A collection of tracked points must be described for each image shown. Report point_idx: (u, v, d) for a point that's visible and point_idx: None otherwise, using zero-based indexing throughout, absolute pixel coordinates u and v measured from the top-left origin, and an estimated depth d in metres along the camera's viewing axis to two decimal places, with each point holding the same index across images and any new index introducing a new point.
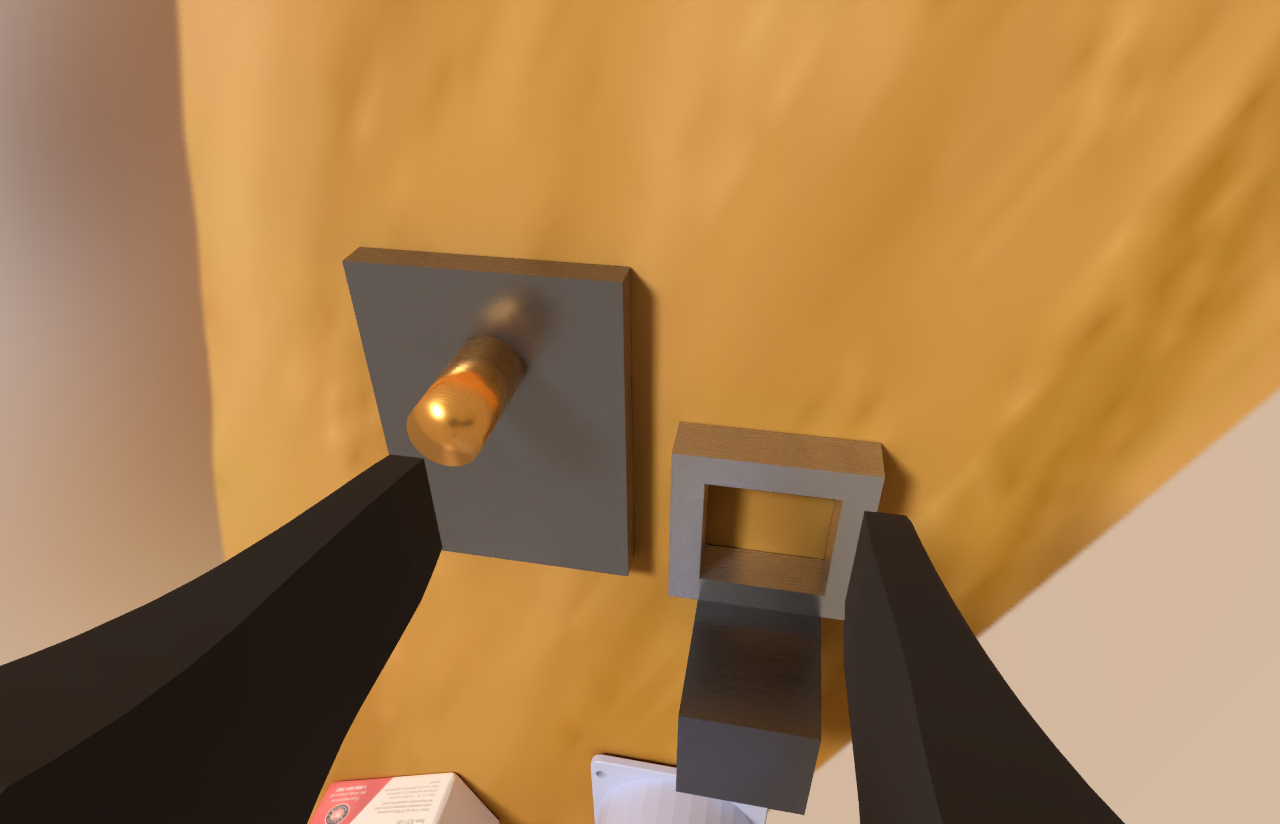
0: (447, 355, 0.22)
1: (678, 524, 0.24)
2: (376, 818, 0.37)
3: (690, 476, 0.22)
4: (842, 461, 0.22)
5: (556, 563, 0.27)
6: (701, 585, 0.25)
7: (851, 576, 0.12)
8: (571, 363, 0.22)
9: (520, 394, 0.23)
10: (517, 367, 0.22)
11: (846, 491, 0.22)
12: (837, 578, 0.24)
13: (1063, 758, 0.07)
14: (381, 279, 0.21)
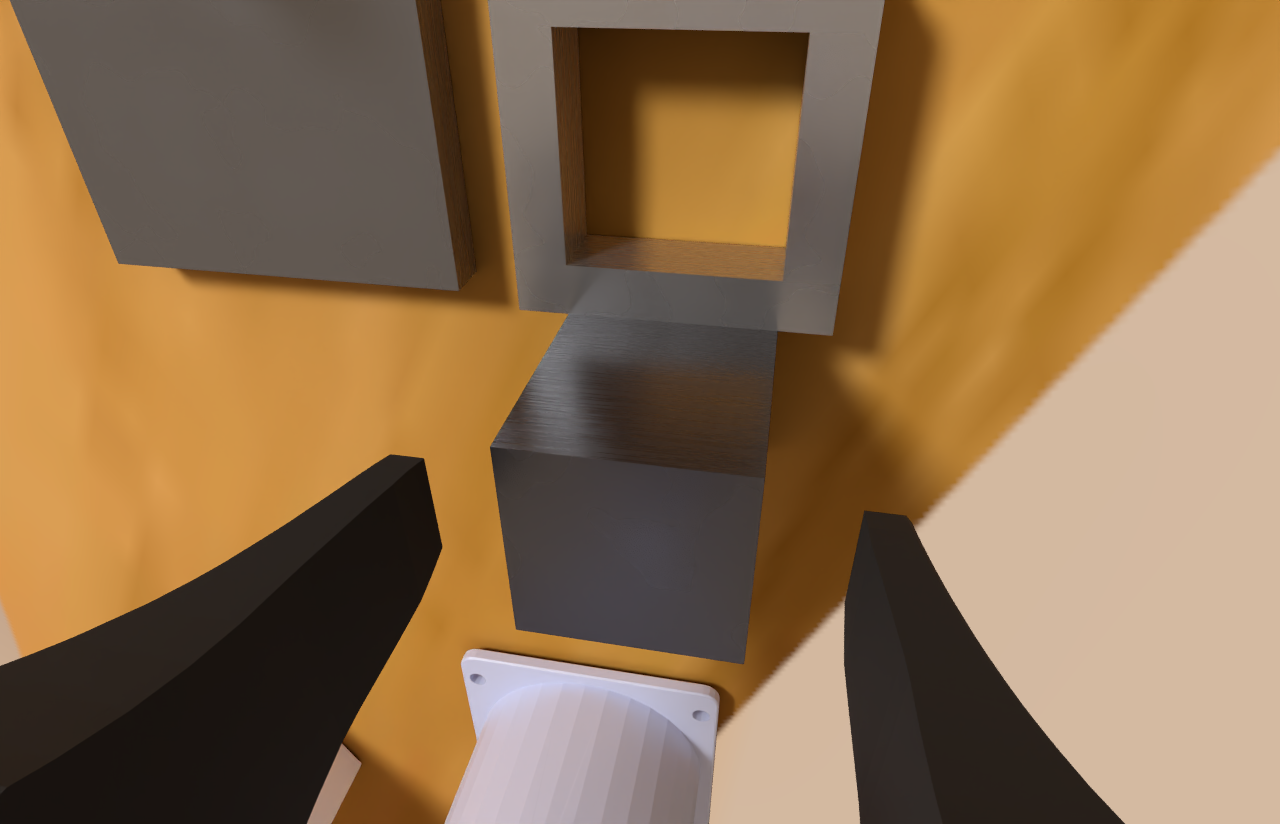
0: None
1: (517, 140, 0.13)
2: None
3: (523, 10, 0.12)
4: None
5: (343, 275, 0.16)
6: (571, 281, 0.14)
7: (851, 576, 0.12)
8: None
9: None
10: None
11: (816, 7, 0.11)
12: (805, 237, 0.13)
13: (1063, 758, 0.07)
14: None
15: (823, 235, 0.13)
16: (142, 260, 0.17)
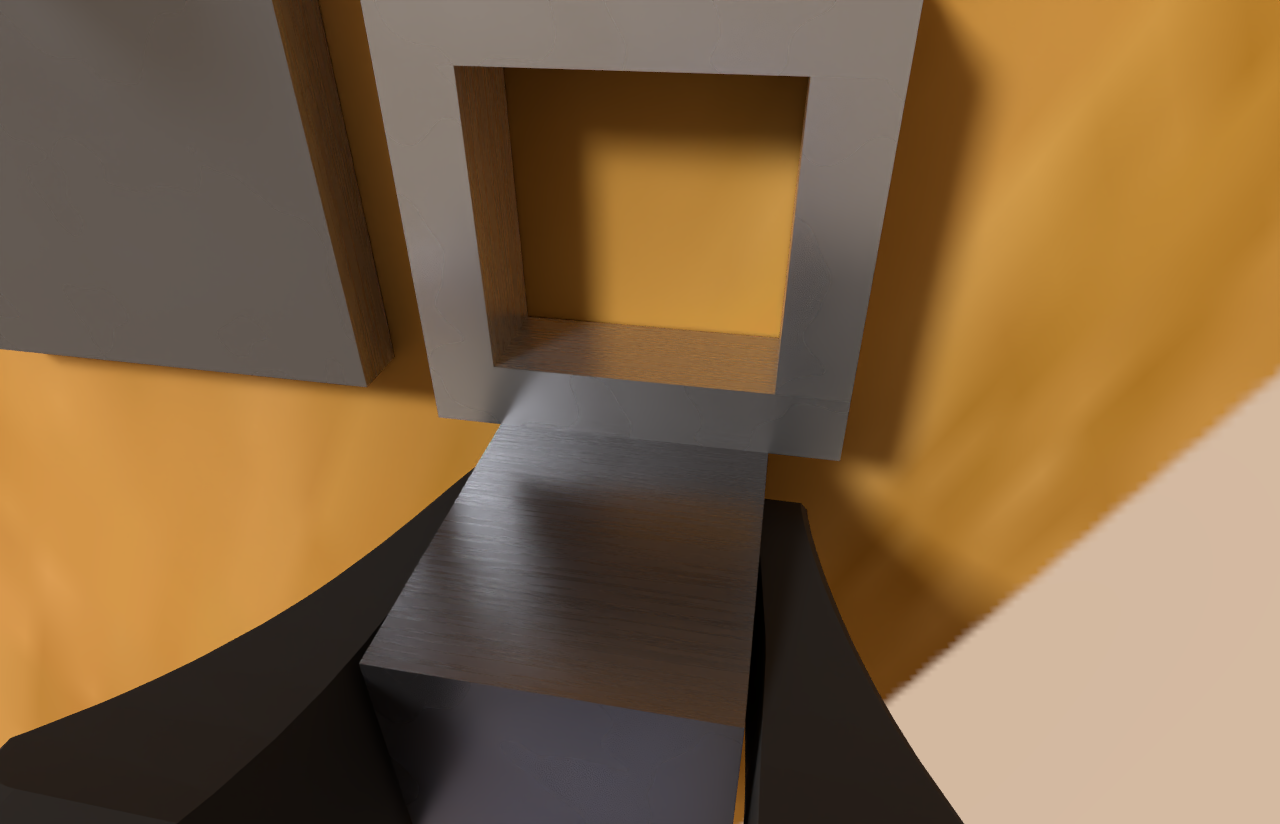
0: None
1: (419, 212, 0.10)
2: None
3: (415, 43, 0.09)
4: None
5: (225, 365, 0.13)
6: (501, 385, 0.11)
7: None
8: None
9: None
10: None
11: (819, 41, 0.08)
12: (804, 341, 0.10)
13: (896, 731, 0.07)
14: None
15: (828, 340, 0.10)
16: None
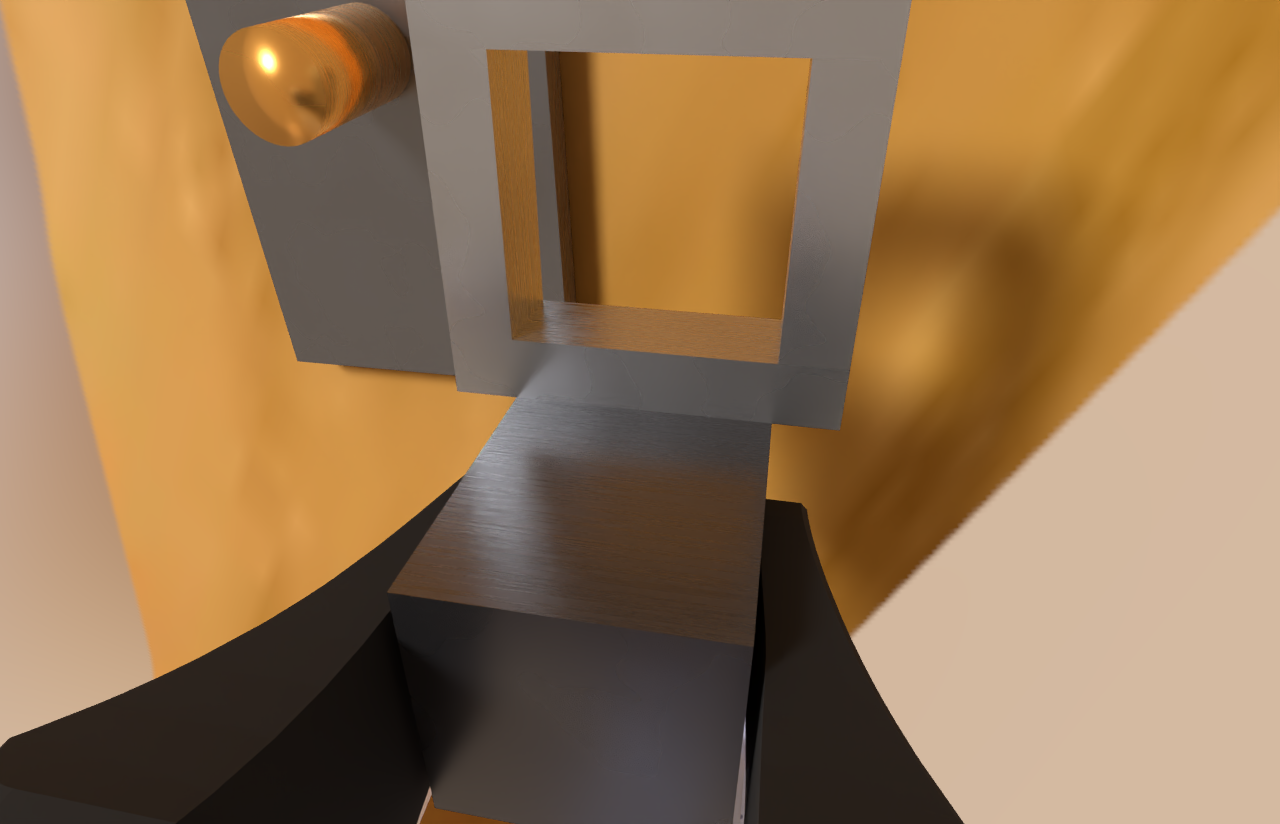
0: None
1: (448, 189, 0.10)
2: None
3: (451, 28, 0.09)
4: None
5: None
6: (518, 358, 0.12)
7: None
8: None
9: (409, 99, 0.17)
10: (398, 44, 0.16)
11: (820, 25, 0.09)
12: (805, 311, 0.10)
13: (896, 731, 0.07)
14: None
15: (828, 309, 0.10)
16: (317, 359, 0.21)
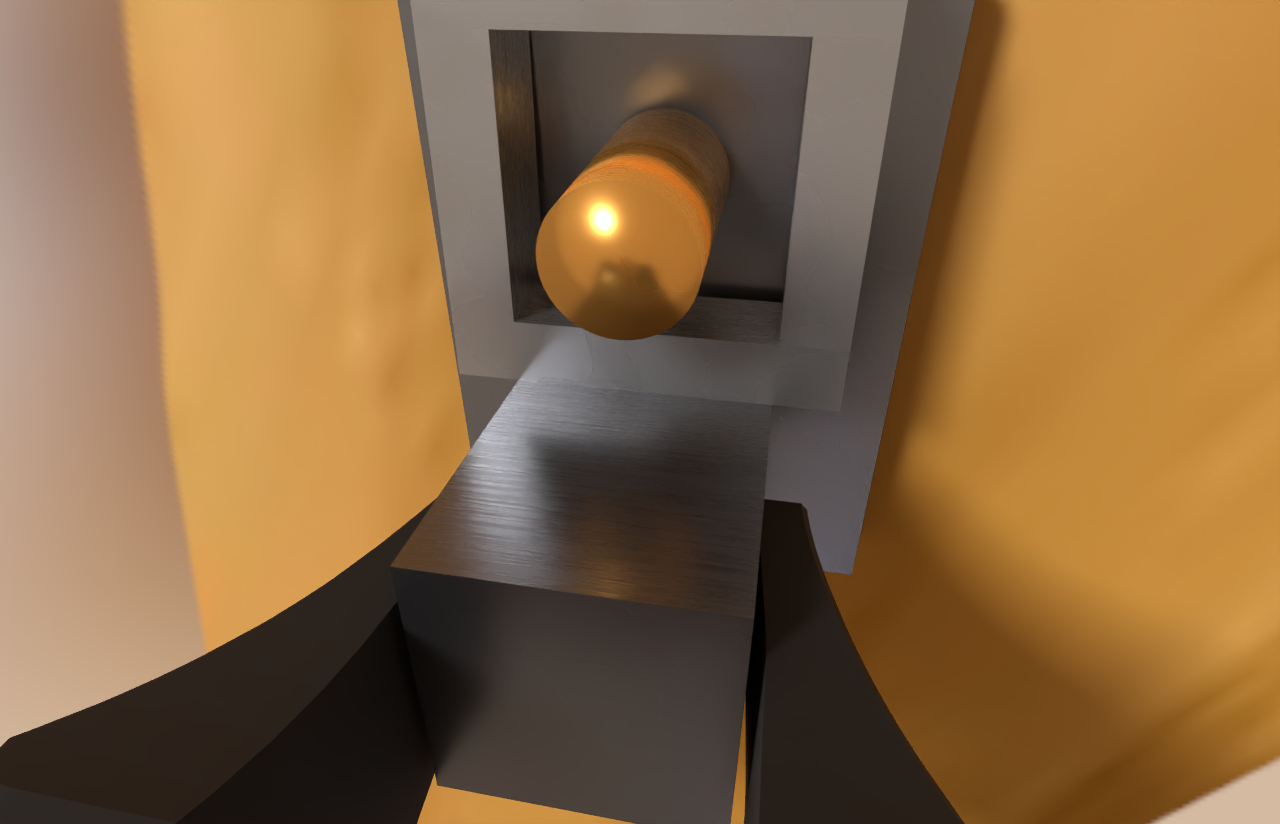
0: (582, 157, 0.12)
1: (450, 169, 0.11)
2: None
3: (453, 8, 0.09)
4: None
5: None
6: (520, 340, 0.12)
7: None
8: None
9: (715, 234, 0.12)
10: (726, 168, 0.11)
11: (820, 4, 0.09)
12: (806, 292, 0.10)
13: (897, 731, 0.07)
14: None
15: (829, 290, 0.10)
16: None
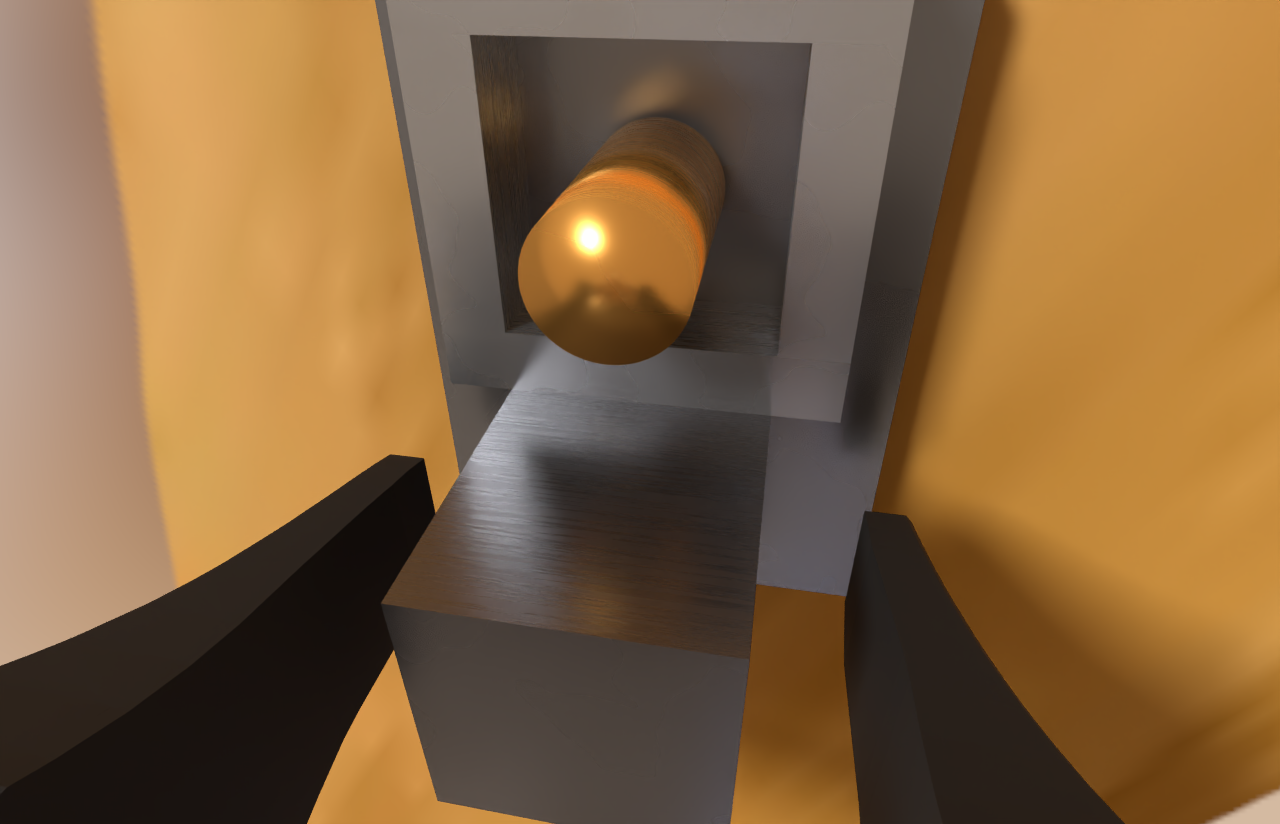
0: (571, 168, 0.11)
1: (434, 179, 0.10)
2: None
3: (433, 13, 0.09)
4: None
5: None
6: (512, 351, 0.11)
7: (851, 576, 0.12)
8: None
9: (710, 248, 0.12)
10: (721, 180, 0.11)
11: (820, 9, 0.08)
12: (805, 304, 0.10)
13: (1063, 758, 0.07)
14: None
15: (829, 302, 0.10)
16: None
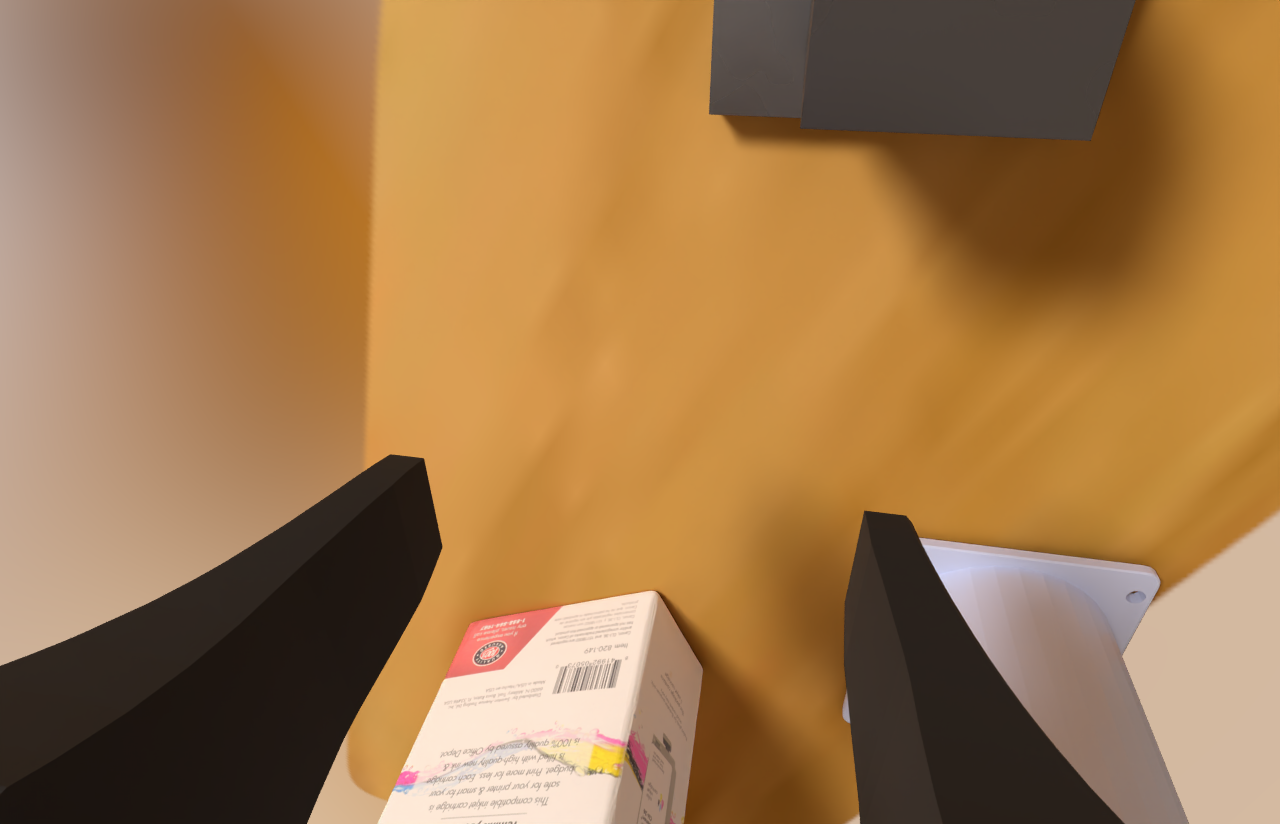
0: None
1: None
2: (550, 650, 0.27)
3: None
4: None
5: None
6: None
7: (851, 576, 0.12)
8: None
9: None
10: None
11: None
12: None
13: (1063, 758, 0.07)
14: None
15: None
16: (738, 109, 0.17)
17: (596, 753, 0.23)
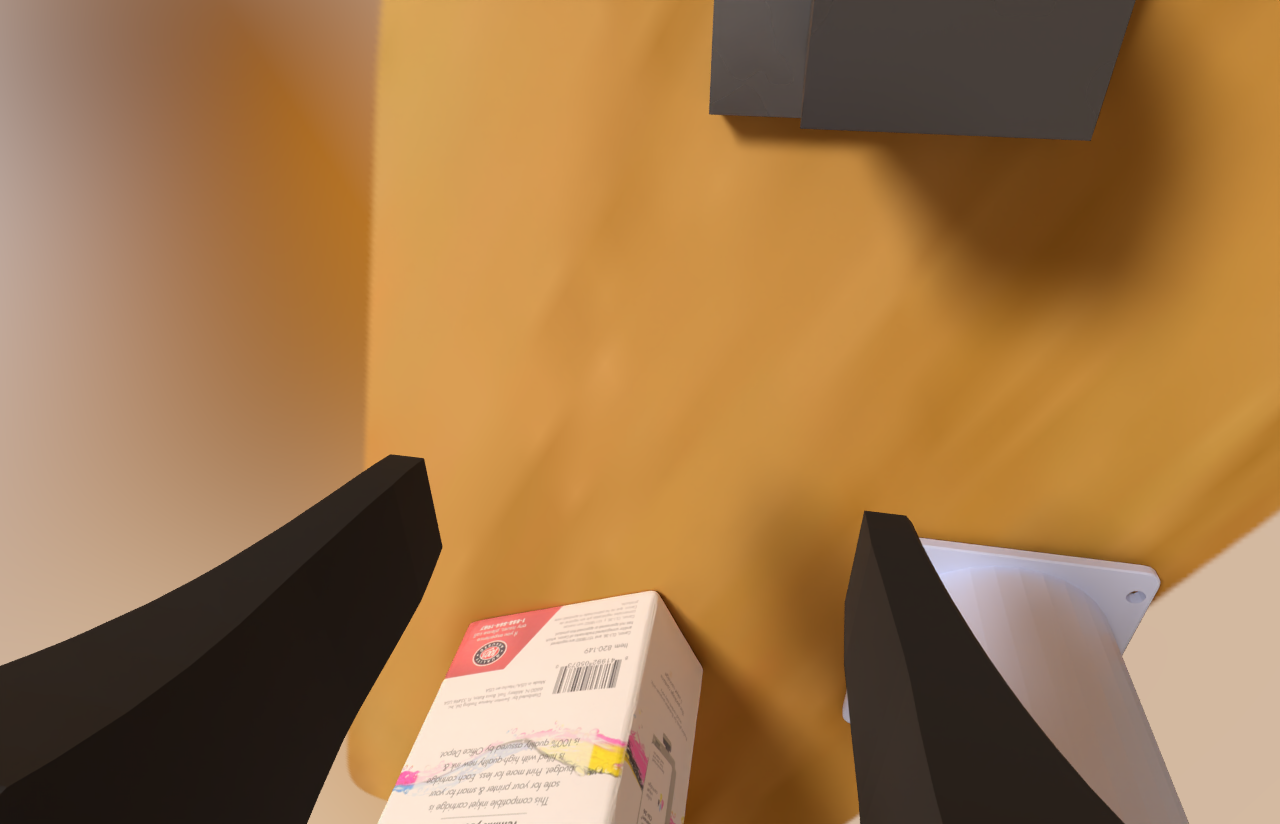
0: None
1: None
2: (550, 650, 0.27)
3: None
4: None
5: None
6: None
7: (851, 576, 0.12)
8: None
9: None
10: None
11: None
12: None
13: (1063, 758, 0.07)
14: None
15: None
16: (738, 109, 0.17)
17: (596, 753, 0.23)
